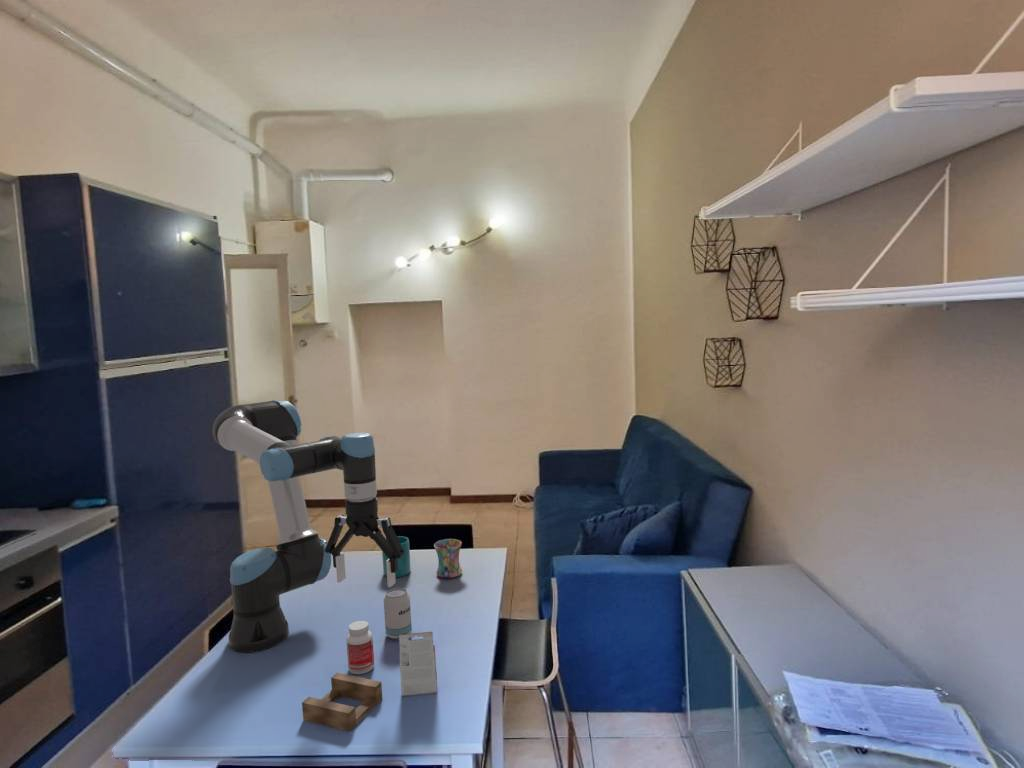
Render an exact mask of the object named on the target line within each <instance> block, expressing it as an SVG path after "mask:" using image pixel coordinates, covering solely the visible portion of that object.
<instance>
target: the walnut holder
mask: <svg viewBox="0 0 1024 768" xmlns="http://www.w3.org/2000/svg"><path fill="white" fill-rule="evenodd" d="M330 682H331V690H330V691H329V692H327V693H326V694H325V695H324V696H323V697H322V698H317V697H312V696H308V697H307V698H305V699H304V700H303V701H302V702H301V706H302V707H301V708H302V720H303V721H305V722H310V723H314V724H318V725H321V726H325V727H329V728H334V729H338V730H341V731H345V732H348V733H349V732H351V731H353V729H354V728H356V727H357V726H358V724H359V723H360V722H361V721H362V720H364V718H365V717H366V716H367V715H368V714H369V713H370V712H371V711H372V710H373V709H374V708H375V706H377V705H378V704H379V703H380V702H381V701H382V700H383V689H382V681H379V680H375V679H369V678H364V677H362V676H361V677H360V676H357V675H351V674H345V673H341V672H336V673H334V674H333V676H331V677H330ZM340 697H342V698H345V699H346V698H347V699H351V700H356V701H360V702H361V704H360V705H359V706H357V708H356V707H355V706H352V705H351V706H350V705H347V704H344V703H343V704H342V703H338V702H335V701H337V700H338V699H339V698H340Z"/></svg>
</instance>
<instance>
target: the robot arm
mask: <svg viewBox="0 0 1024 768" xmlns="http://www.w3.org/2000/svg"><path fill="white" fill-rule="evenodd" d="M301 426H302V421H301V416H300V415H299V412H298V409H297V408H296V407H295V405H294V404H292V403H291V402H290V401H288V400H273V399H272V400H269V401H261V402H260V401H259V402H255V403H254V402H253V403H248V404H247V403H246V404H245V403H244V404H237V405H233V406H231V407H228V408H226V409H225V410H223V411H222V412H221V413H220V414H219V415H218V416H216V418H215V420H214V422H213V426H212V435H213V438H214V440H215V442H216V443H217V444H218V445H219V446H220V447H222V448H223V449H225V450H227V451H231V452H238V453H240V454H241V455H243V456H244V457H246V458H248V459H250V460H252V461H254V462H256V463H257V464H259V469H260V472H261V474H262V476H263V478H264V479H265V480H266V481H267V484H268V487H269V492H270V495H271V501H272V502H271V503H272V506H273V510H274V514H275V520H276V523H277V528H278V534H279V538H278V540H277V541H276V543H275V547H276V550H275V549H274V548H272V547H261V548H256V549H252V550H249V551H247V552H244V553H242V554H241V555H239V556H237V557H236V558H235V559H234V560H233V561H232V562H231V565H230V568H229V572H230V577H229V582H230V586H231V587H230V588H231V601H232V611H233V618H232V621H231V626H230V631H229V634H228V647H229V648H230V649H232V650H233V651H235V652H238V653H252V652H253V653H254V652H259V651H264V650H267V649H270V648H273V647H275V646H277V645H279V644H281V643H282V642H283V641H284V640H285V639H287V637H288V636H289V634H290V628H289V627H290V626H289V623H288V620H287V619H286V616H285V614H284V612H283V610H282V607H281V602H280V595H284V594H286V593H288V592H291V591H294V590H298V589H300V588H303V587H306V586H309V585H314V584H315V583H317V582H319V581H322V580H324V579H325V578H326V577H328V575H329V574H330V570H331V567H332V565H333V568H334V569H335V571H336V583H339V584H340V583H341V582H343V581H344V580H346V578H347V577H346V563H345V562H346V560H345V552H342V551H343V549H344V548H345V547H346V546H347V544H348V543H349V542H350V540H351V539H352V538H353V536H355V537H364V538H367V537H369V539H371V540H373V541H374V542H375V543H376V545H377V546H378V547H379V548H380V550H381V552H382V551H383V552H384V553H385V555H386V556H387V557H388V558H389V559H388V560H387V561H386V566H387V576H386V579H387V581H386V583H387V588H391V587H392V586H394V585H395V584H396V583H397V582H396V577H395V572H396V571H397V570H398V561H397V559H399V558H400V557H402V556H403V555H404V554H405V551H404V549H403V548H402V546H401V544H400V542H399V540H398V538H397V534H396V531H395V530H394V528H393V525H392V520H391V518H390V517H389V516H387V517H385V518H379V516H378V515H379V514H378V510H379V508H378V507H379V506H378V505H379V504H378V497H377V495H378V489H377V488H378V487H377V477H376V476H377V474H376V473H377V472H376V470H377V469H376V448H375V444H374V437H373V435H372V433H369V432H351V433H347V434H344V435H343V436H342V437H340V436H336V435H332V436H331V435H330V436H329V435H328V436H324V437H321V438H320V439H319V440H316V441H310V442H304V443H299V444H297V443H298V440H297V437H299V436H300V434H301V431H302V427H301ZM335 469H337V470H341V471H342V473H343V475H342V476H343V487H344V498H345V502H344V504H345V505H344V506H345V515H344V514H339V515H338V516H336V517H334V526H333V528H332V531H331V534H330V537H329V539H328V541H327V540H326V539H325V538H323V537H319V533H318V531H316V530H314V529H313V528H312V526H311V522H310V517H309V514H308V508H307V504H306V500H305V495H304V491H303V487H302V486H303V485H302V483H301V479H300V477H304V476H307V475H311V474H316V473H321V472H325V471H331V470H335ZM345 524H346V525H347V527H348V529H347V531H346V532H345V533H344V535H343V537H342V538H341V539H340V541H339V542H338V540H339V537H340V535H341V533H342V530H343V529H344V525H345ZM381 529H382V530H381ZM382 532H383V533H382ZM386 538H387V539H386ZM387 540H388V541H387ZM332 562H333V563H332Z"/></svg>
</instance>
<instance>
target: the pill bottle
mask: <svg viewBox="0 0 1024 768" xmlns="http://www.w3.org/2000/svg"><path fill="white" fill-rule="evenodd" d="M369 628H370V627H369V622H368V621H365V620H358V621H353V622H352V623H350V624H349V625H348V635H347V637H346V651H347V666H348V667H347V668H348V671H349V672H350V673H351V674H353V675H364V674H367V673H369V672H371V671H372V670H373V669H374V667H375V653H374V641H373V633H372V632H371V630H370V629H369Z"/></svg>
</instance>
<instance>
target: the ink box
mask: <svg viewBox="0 0 1024 768" xmlns="http://www.w3.org/2000/svg"><path fill="white" fill-rule="evenodd" d="M433 633H434V632H433V631H425V632H415V633H410V634H402V635H399V639H398V640H399V655H398V657H399V670H400V687H401V688H400V689H401V697H402V696H403V697H407V696H408V697H410V696H418V695H420V696H421V695H428V694H429V695H430V694H435V693H438V674H437V660H436V647H435V646H436V645H435V644H434V635H433ZM415 636H416V637H423V638H418V639H410V638H415Z"/></svg>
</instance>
